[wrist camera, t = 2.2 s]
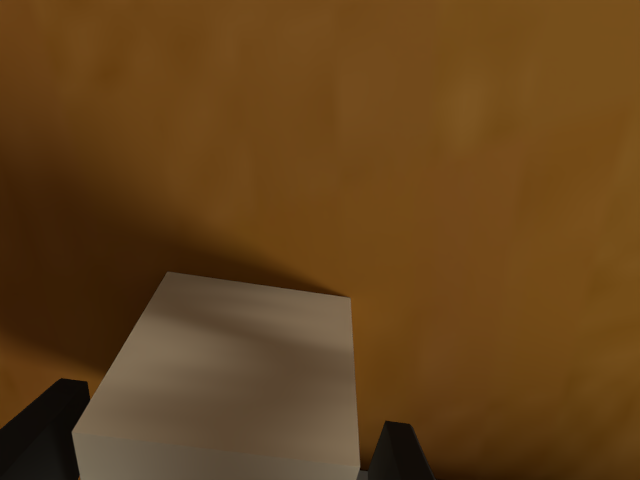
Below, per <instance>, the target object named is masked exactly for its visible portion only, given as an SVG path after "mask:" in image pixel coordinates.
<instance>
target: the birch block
mask: <svg viewBox="0 0 640 480" xmlns="http://www.w3.org/2000/svg"><path fill="white" fill-rule="evenodd" d="M72 437H73V442H74V447H75V452H76V457H77V462H78V468H79V473H80V478H81V480H356V478H357V475H358V472H359V469H360V455H359V438H358V420H357V403H356V386H355V368H354V351H353V334H352V317H351V299H350V298H348V297H341V296H334V295H327V294H320V293H313V292H306V291H299V290H292V289H285V288H278V287H271V286H264V285H257V284H251V283H244V282H237V281H230V280H223V279H216V278H209V277H202V276H195V275H188V274H181V273H174V272H167V273H166V275H165V276H164V278H163V280H162V281H161V283H160V285H159V286H158V288H157V290H156V292H155V293H154V295H153V297H152V298H151V300H150V302H149V303H148V305H147V307H146V308H145V310H144V312H143V313H142V315H141V317H140V318H139V320H138V322H137V323H136V325H135V327H134V328H133V330H132V332H131V333H130V335H129V337H128V338H127V340H126V342H125V343H124V345H123V347H122V349H121V350H120V352H119V354H118V355H117V357H116V359H115V360H114V362H113V364H112V365H111V367H110V369H109V370H108V372H107V374H106V375H105V377H104V379H103V380H102V382H101V384H100V385H99V387H98V389H97V390H96V392H95V394H94V395H93V397H92V399H91V400H90V402H89V404H88V406H87V407H86V409H85V411H84V412H83V414H82V416H81V417H80V419H79V421H78V422H77V424H76V426H75V427H74V429H73V431H72Z"/></svg>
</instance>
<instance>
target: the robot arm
mask: <svg viewBox="0 0 640 480" xmlns="http://www.w3.org/2000/svg"><path fill="white" fill-rule="evenodd" d="M89 402H90V396H89V389H88V383H87V382H86V381H78V380H71V379H63V378H61V379H59V380H58V381H56V382H55V383H54V384H53V385H52V386H51V387H49V388H48V389H47V390H46V391H45V392H44V393H42V394H41V395H40V396H39V397H38V398H37V399H35V400H34V401H33V402H32V403H31V404H30V405H28V406H27V407H26V408H25V409H24V410H23V411H21V412H20V413H19V414H18V415H17V416H16V417H14V418H13V419H12V420H11V421H10V422H8V423H7V424H6V425H5V426H4V427H2V428H1V429H0V480H78V478H79V476H80V473H79V468H78V462H77V457H76V452H75V447H74V442H73V437H72V431H73V429H74V427H75V426H76V424H77V422H78V421H79V419H80V417H81V416H82V414H83V412H84V411H85V409H86V407H87V406H88V404H89ZM368 480H436V479H435V477H434V475H433V473H432V471H431V469H430V466H429V464H428V462H427V460H426V457H425V455H424V453H423V451H422V448H421V446H420V444H419V441H418V439H417V437H416V434H415V432H414V429H413V427H412V426H411V425H410V424H406V423H398V422H390V421H385V424H384V427H383V429H382V432H381V435H380V438H379V441H378V443H377V446H376V449H375V452H374V455H373V458H372V460H371V463H370V466H369V469H368Z"/></svg>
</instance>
